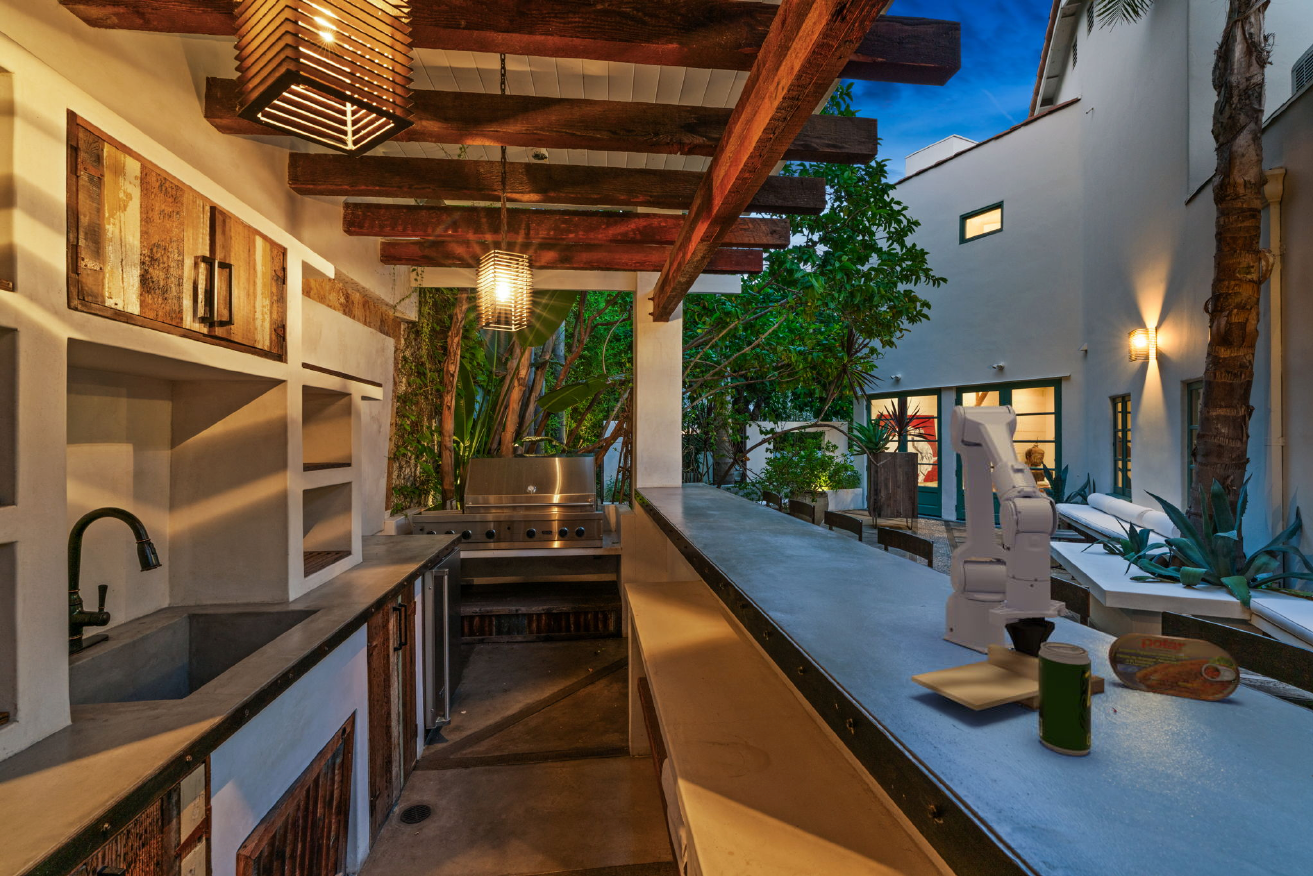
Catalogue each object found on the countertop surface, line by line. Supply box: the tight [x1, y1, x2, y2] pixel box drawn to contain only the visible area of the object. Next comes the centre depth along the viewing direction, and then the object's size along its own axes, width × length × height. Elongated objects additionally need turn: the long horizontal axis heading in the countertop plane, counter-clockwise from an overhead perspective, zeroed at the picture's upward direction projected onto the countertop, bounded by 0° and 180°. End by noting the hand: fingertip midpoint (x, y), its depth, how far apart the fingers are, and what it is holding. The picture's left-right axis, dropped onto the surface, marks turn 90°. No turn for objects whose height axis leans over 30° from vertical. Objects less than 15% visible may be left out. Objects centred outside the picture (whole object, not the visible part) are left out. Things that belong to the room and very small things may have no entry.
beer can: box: [1038, 641, 1092, 757], centre depth 75 cm, size 5×5×12 cm
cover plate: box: [910, 644, 1039, 712], centre depth 88 cm, size 11×17×4 cm, turn 114°
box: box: [1012, 673, 1106, 712], centre depth 92 cm, size 10×16×2 cm, turn 114°
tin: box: [1108, 632, 1241, 702], centre depth 91 cm, size 15×3×8 cm, turn 62°
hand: (1028, 667), depth 92 cm, fingers closed
